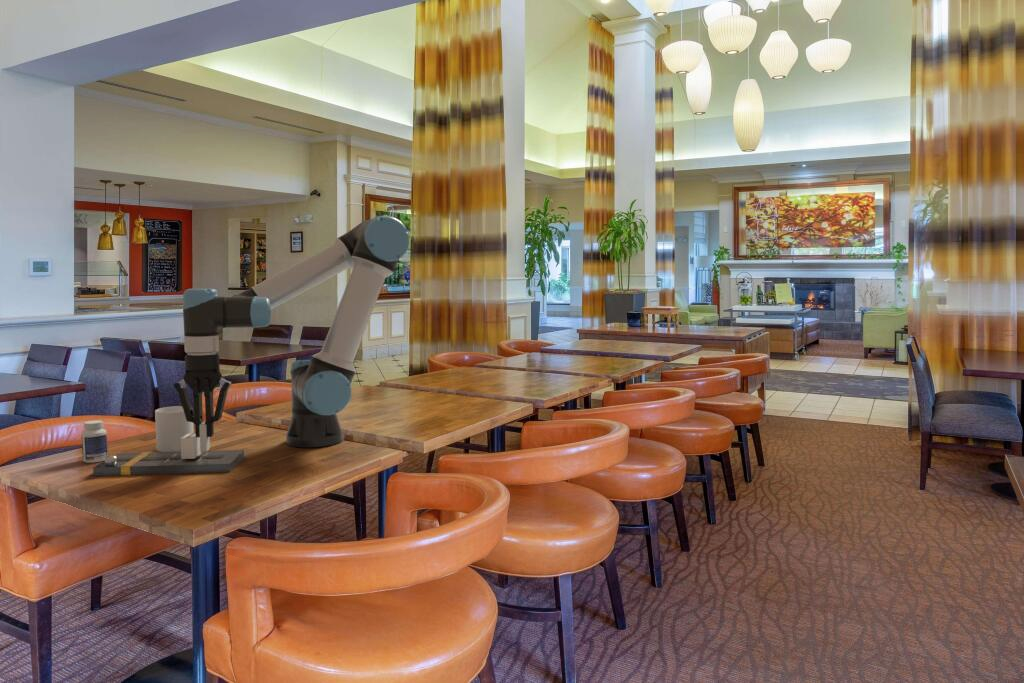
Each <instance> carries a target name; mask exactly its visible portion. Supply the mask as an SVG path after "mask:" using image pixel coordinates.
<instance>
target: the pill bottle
mask: <svg viewBox="0 0 1024 683" xmlns="http://www.w3.org/2000/svg"><path fill="white" fill-rule="evenodd" d="M83 428H84V431H82V432H81V434H80V436H81V452H82V453H81V454H82V461H83V463H87V464H90V463H98V462H99V463H100V462H104V461H105V456H109V454H108V452H109V451H108V434H107V430H106V429H104V421H103V420H88V421H85V422H84V423H83Z"/></svg>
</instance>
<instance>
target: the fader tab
mask: <svg viewBox="0 0 1024 683" xmlns="http://www.w3.org/2000/svg"><path fill="white" fill-rule="evenodd" d="M180 440H181V459H195V458H196V457H197V456H199V455H200V454H201V451H200V437H196V435H195V432H194V433H193V434H186V435H185V436H183V437H182V438H180Z"/></svg>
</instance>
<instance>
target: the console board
mask: <svg viewBox="0 0 1024 683" xmlns="http://www.w3.org/2000/svg"><path fill="white" fill-rule="evenodd" d="M244 459H245V449H228V450H227V449H226V450H225V449H224V450H223V449H222V450H208V451H201V454H200V455H199V456H197V457H196V458H195V459H181V452H159V451H154V452H153V451H143V452H117V453H116V454H110V455H109V454H108V456H105V460H104V461H101V463H100V462H99V464H97V465H96V466H94V467H92V470H93V471H92V472H93V473H92V474H93V477H109V476H113V477H114V476H140V475H141V476H143V475H170V474H171V475H172V474H175V475H176V474H205V473H206V474H207V473H231V472H232V471H233V470H234V469H235V468H236V467H237V466H238V465H239V464H240V463H241V461H242V460H244Z"/></svg>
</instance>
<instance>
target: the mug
mask: <svg viewBox="0 0 1024 683" xmlns="http://www.w3.org/2000/svg"><path fill="white" fill-rule="evenodd" d="M192 409H193V410H194V407H192ZM154 417H155V418H154V420H155V439H156V443H155V444H156V449H157V452H181V440H180V438H182V437H183V436H185V435H186V434H193V433H195V432H194V431H195V430H194V429H195V426H194V423H192V422H188V421H187V420H186V417H185V413H184V410H183V407H182V406H181V405H178V406H177V405H176V406H175V405H174V406H165V407H159V408H157V409H155V410H154Z"/></svg>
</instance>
